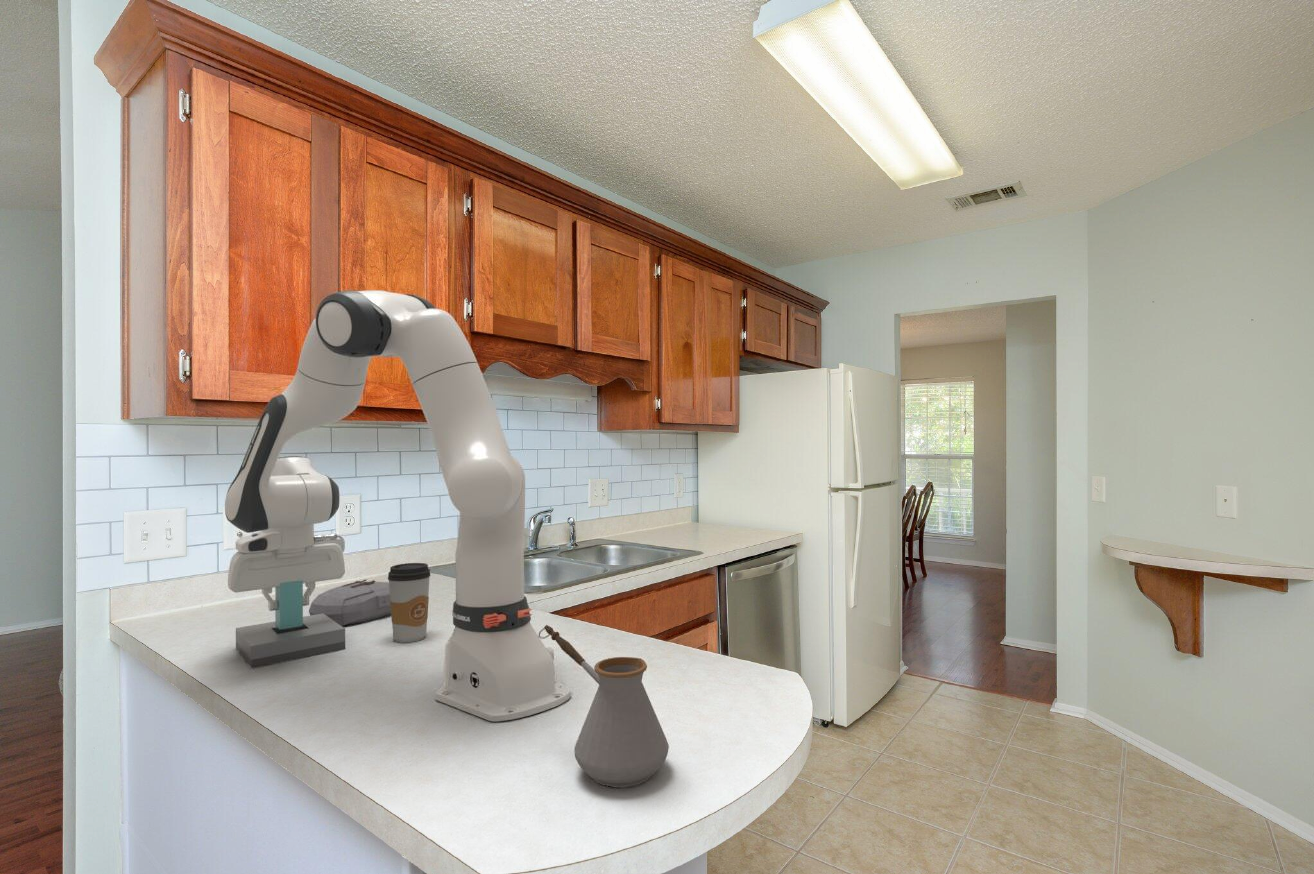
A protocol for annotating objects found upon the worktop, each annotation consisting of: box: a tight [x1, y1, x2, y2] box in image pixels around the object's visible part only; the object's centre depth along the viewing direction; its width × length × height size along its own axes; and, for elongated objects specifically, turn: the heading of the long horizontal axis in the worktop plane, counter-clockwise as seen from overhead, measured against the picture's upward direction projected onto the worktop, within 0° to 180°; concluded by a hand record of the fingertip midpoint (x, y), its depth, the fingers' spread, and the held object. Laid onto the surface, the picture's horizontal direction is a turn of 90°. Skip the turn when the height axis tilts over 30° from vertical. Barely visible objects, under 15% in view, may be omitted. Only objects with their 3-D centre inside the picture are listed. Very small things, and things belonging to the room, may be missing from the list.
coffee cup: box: [387, 562, 431, 644], centre depth 134 cm, size 8×8×15 cm
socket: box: [235, 613, 346, 669], centre depth 128 cm, size 16×16×4 cm
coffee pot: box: [538, 624, 670, 789], centre depth 82 cm, size 21×12×15 cm, turn 46°
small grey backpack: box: [308, 579, 391, 627], centre depth 151 cm, size 15×8×20 cm
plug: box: [274, 580, 304, 630], centre depth 128 cm, size 4×4×9 cm
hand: (289, 607), depth 128 cm, fingers closed on plug, 4 cm apart
